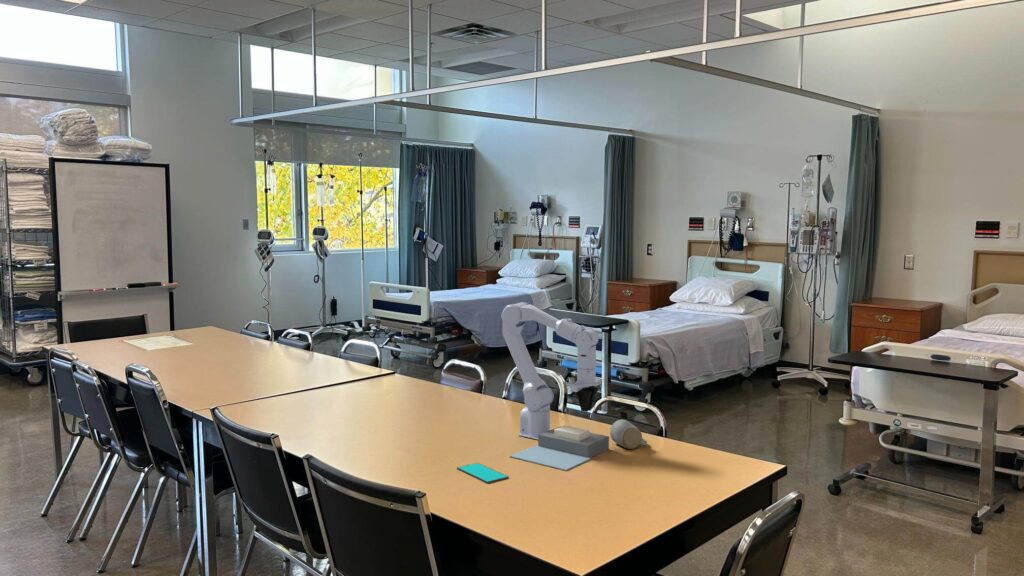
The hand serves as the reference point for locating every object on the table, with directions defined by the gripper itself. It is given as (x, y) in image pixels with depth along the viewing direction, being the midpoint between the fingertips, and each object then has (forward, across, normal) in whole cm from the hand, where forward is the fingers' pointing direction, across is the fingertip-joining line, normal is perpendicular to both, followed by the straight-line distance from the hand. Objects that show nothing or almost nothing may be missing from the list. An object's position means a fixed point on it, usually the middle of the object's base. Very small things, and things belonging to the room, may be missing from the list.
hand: (586, 410), depth 233 cm
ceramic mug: (+11, +6, -12) cm, 17 cm away
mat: (+10, -20, 0) cm, 22 cm away
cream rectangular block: (+6, -8, 0) cm, 10 cm away
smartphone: (+11, -42, +7) cm, 44 cm away
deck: (+10, -7, 0) cm, 13 cm away
